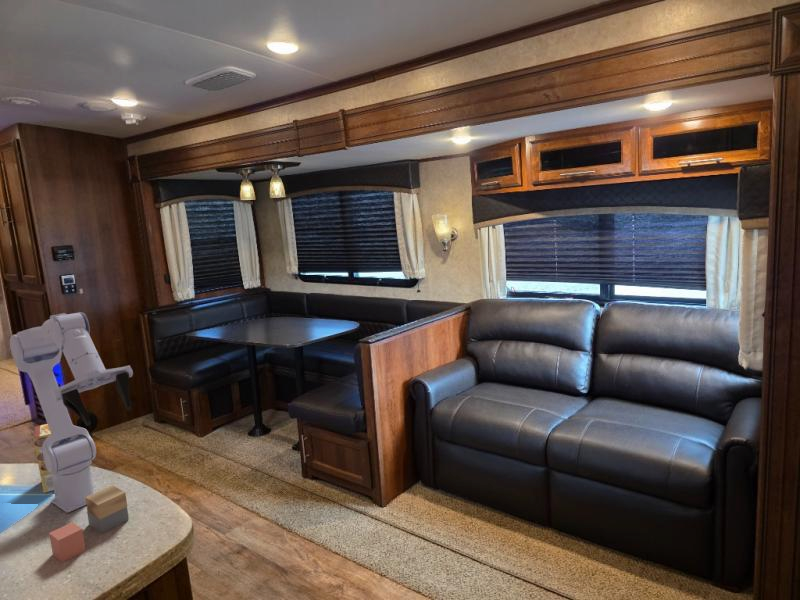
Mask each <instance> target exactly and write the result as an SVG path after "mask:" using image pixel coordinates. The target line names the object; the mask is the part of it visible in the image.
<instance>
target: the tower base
mask: <svg viewBox="0 0 800 600" xmlns="http://www.w3.org/2000/svg"><path fill="white" fill-rule="evenodd" d="M86 513H87V520H88V525H89V526H91V527H92V528H93V529H95V530H96V531H97V532H99V533H100V534H103V533H105V532H107V531H109V530H111V529H113V528H116V527H117V526H120V525H121V524H123V523H125V522H127V521H129V520H130V517H129V512H128V506H127V507H125V508H123V509H121V510H119V511H117V512H115V513H113V514H111V515H109V516H106V517H104V518H102V519H99V518H97V517H95V516H94V515H92V514H91V513H89V512H88V511H86ZM128 519H129V520H128ZM122 522H123V523H122Z"/></svg>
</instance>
